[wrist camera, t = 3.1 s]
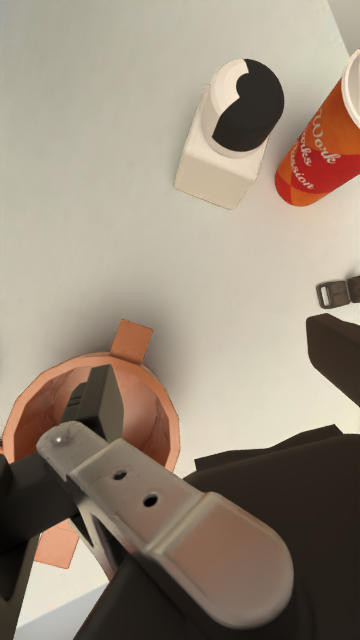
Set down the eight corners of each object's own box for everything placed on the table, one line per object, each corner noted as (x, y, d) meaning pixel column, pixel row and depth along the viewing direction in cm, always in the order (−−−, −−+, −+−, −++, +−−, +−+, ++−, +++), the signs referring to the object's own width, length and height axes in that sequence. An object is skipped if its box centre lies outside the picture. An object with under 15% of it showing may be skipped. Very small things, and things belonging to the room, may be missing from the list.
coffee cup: (268, 141, 38) (359, 11, 23) (333, 156, 39) (459, 41, 24) (261, 210, 37) (350, 121, 22) (327, 223, 38) (453, 146, 23)
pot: (19, 474, 31) (-45, 550, 20) (82, 311, 33) (57, 294, 22) (131, 506, 32) (132, 594, 21) (186, 347, 34) (213, 350, 23)
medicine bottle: (249, 155, 37) (305, 67, 25) (232, 211, 36) (281, 148, 24) (191, 131, 36) (221, 28, 24) (172, 188, 35) (193, 111, 24)
